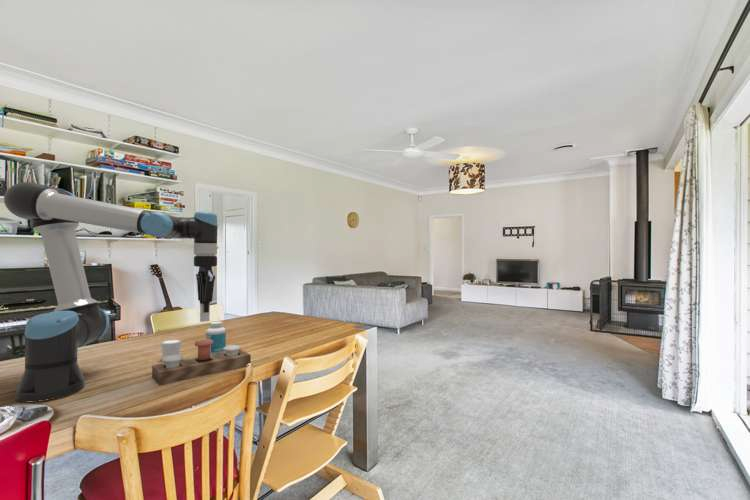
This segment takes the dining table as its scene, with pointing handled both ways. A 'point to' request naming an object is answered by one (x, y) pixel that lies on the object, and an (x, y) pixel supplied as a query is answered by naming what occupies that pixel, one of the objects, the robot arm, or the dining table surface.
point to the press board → (199, 367)
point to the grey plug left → (172, 361)
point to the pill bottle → (216, 337)
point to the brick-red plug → (204, 349)
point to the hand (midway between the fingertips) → (204, 321)
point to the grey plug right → (232, 350)
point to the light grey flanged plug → (170, 347)
